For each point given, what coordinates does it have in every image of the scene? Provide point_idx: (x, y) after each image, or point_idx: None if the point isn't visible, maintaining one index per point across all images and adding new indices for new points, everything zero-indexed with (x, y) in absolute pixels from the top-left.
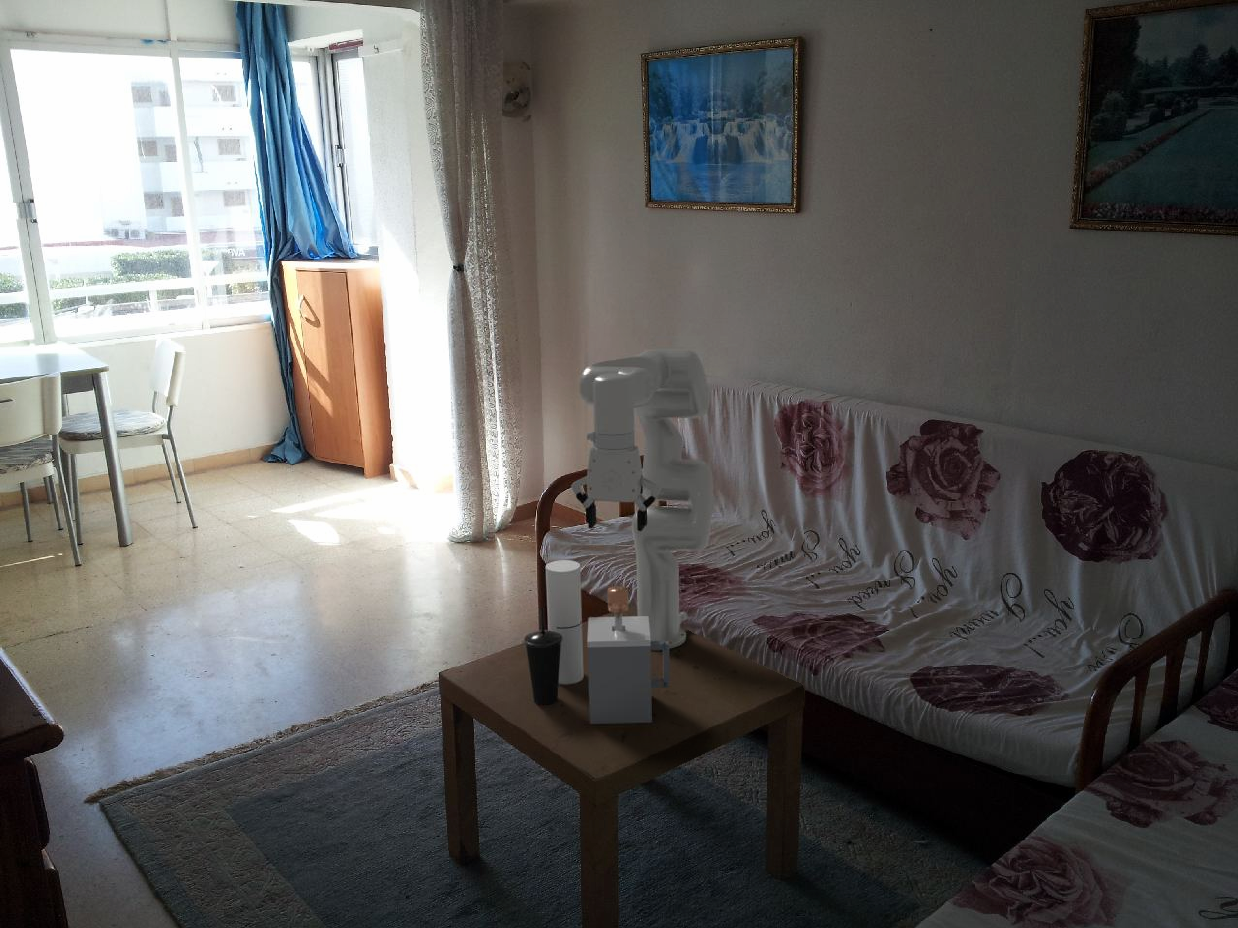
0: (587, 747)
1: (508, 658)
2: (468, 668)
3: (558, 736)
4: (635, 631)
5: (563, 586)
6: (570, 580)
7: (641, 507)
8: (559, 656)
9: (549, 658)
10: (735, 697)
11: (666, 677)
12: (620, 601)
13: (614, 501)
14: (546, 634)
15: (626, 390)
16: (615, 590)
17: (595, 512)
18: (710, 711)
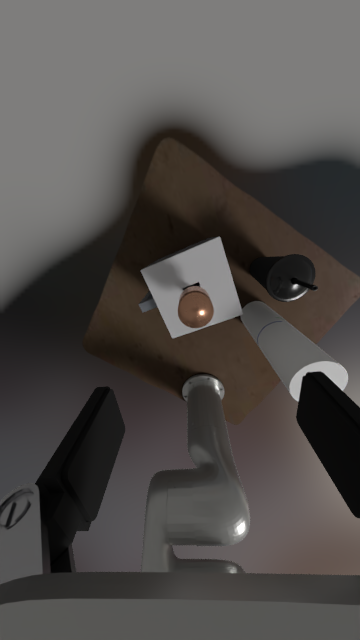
0: (194, 192)
1: (315, 331)
2: (349, 303)
3: (227, 203)
4: (169, 290)
5: (298, 349)
6: (292, 359)
7: (19, 514)
8: (261, 277)
9: (270, 262)
10: (113, 321)
11: (149, 292)
12: (185, 293)
13: (202, 576)
14: (288, 277)
15: None
16: (197, 305)
17: (328, 466)
18: (121, 293)
